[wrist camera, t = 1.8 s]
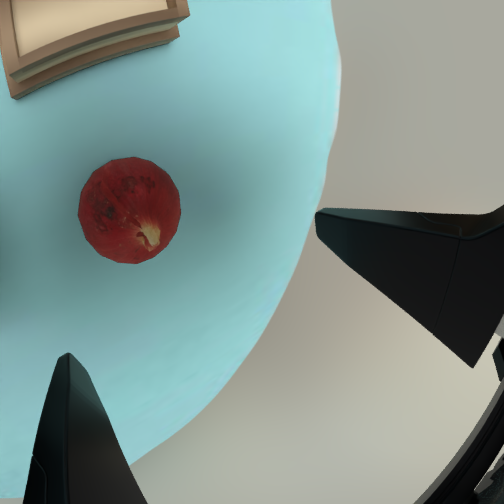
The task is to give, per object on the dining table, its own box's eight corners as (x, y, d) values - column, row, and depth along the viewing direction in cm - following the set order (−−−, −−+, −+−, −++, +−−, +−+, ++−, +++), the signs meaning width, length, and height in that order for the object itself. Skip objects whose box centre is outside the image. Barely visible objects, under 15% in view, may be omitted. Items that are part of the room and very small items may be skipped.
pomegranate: (60, 211, 16) (61, 265, 11) (108, 134, 16) (135, 142, 11) (128, 249, 20) (166, 310, 15) (173, 180, 20) (231, 213, 15)
